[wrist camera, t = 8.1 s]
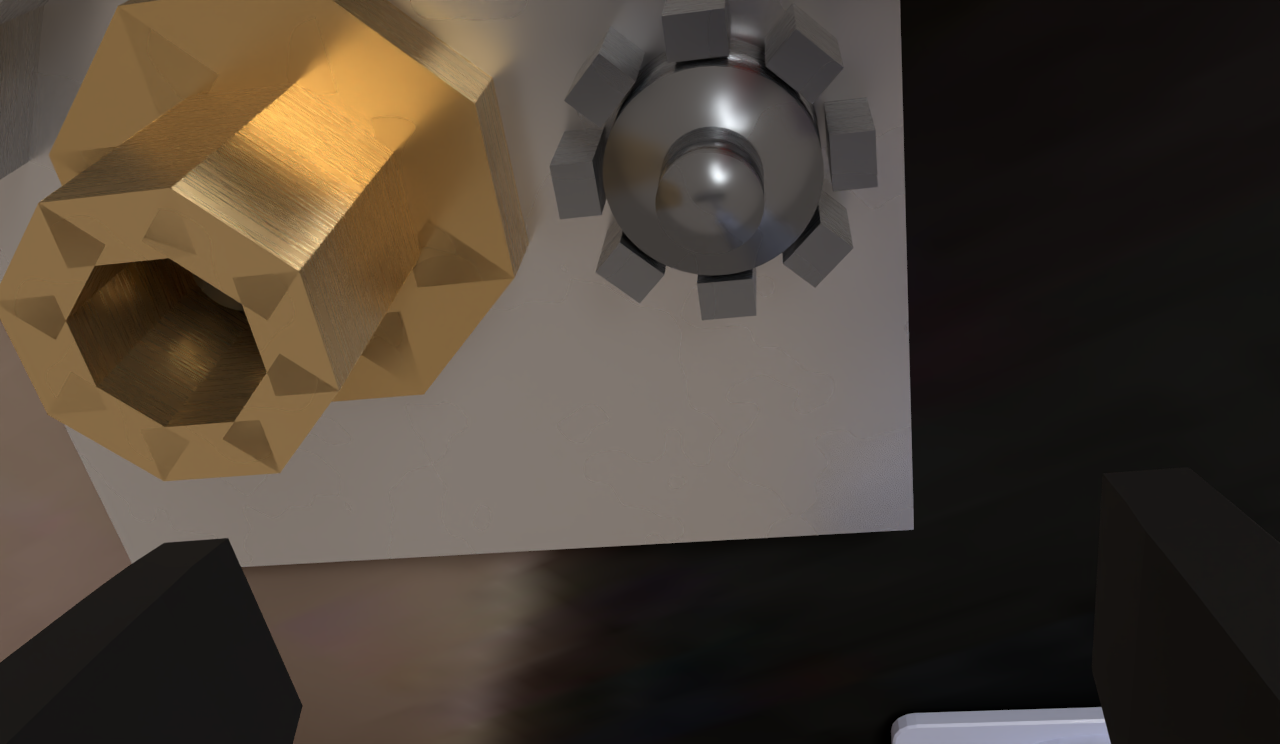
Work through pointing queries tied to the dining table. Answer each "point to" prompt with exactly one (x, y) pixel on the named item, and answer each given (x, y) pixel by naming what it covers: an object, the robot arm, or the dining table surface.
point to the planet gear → (259, 228)
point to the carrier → (595, 295)
